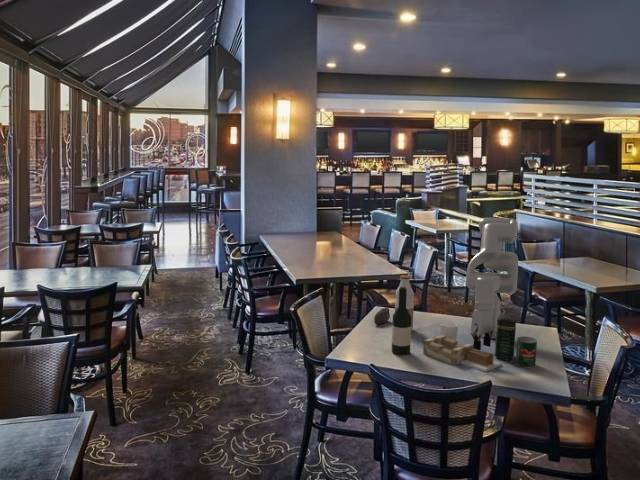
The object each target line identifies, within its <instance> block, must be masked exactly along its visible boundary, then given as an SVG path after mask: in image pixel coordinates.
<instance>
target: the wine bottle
mask: <svg viewBox="0 0 640 480" xmlns="http://www.w3.org/2000/svg"><path fill="white" fill-rule="evenodd" d="M406 296H407V289H406V287H404V286H401V287H400V288H399V306H398V308H397V310H396V311H395V310H394V313H393V314H392V325H391V326H392V332H391V352H392V353H391V354H394V355H396V356H407V355H410V354H411V342H412V341H411V339H412V334H411V333H412V331H411V316H410V314H409V312H408V310H407V308H406Z"/></svg>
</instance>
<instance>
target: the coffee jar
mask: <svg viewBox="0 0 640 480" xmlns="http://www.w3.org/2000/svg"><path fill="white" fill-rule="evenodd" d="M516 327H517V320H516V317H515V316H513V315H511V314H500V316H499V317H498V319H497V331H496V339H495V347H494V356H495V358H496V359H500V360H501V361H502V360H504V361H507V360H508V361H511V360H513V359H514V355H515V342H516V333H517V332H516V329H517V328H516Z"/></svg>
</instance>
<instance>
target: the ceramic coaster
mask: <svg viewBox="0 0 640 480" xmlns="http://www.w3.org/2000/svg"><path fill="white" fill-rule="evenodd" d="M460 364H462V365H464V366H466V367H467V366H468V367H470V368H473V369H475V370H479V371H482V372H485V373H486V372H488V371H491V370H493V369H496V368H498V367H502V365H503V363H502V362H501V361H500V362H499V361H497V360H494V359H493V364H490V365H488V366H485V365H482V364H479V363H476V362H473V361H470V360H467V359H465V360H463V361H461V363H460Z"/></svg>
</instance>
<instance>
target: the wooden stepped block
mask: <svg viewBox="0 0 640 480" xmlns="http://www.w3.org/2000/svg"><path fill="white" fill-rule="evenodd" d="M473 347H474V343H466V344H464V345H463V344H461V343H458V340H456V341H455V340H452V339H449V338H446V336H444V335H441V334H440V335H436V336H434V337H431V338H427V339H424V340H423V348H422V350H423V353H422V354H423V355H426V356H429V357H431V358H434V359H436V360H439V361H443V362H445V363H448V364H451V365H454V366H455V365H458V364H461V361H463V360H465V359H466V350H469V349H472V348H473Z"/></svg>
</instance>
